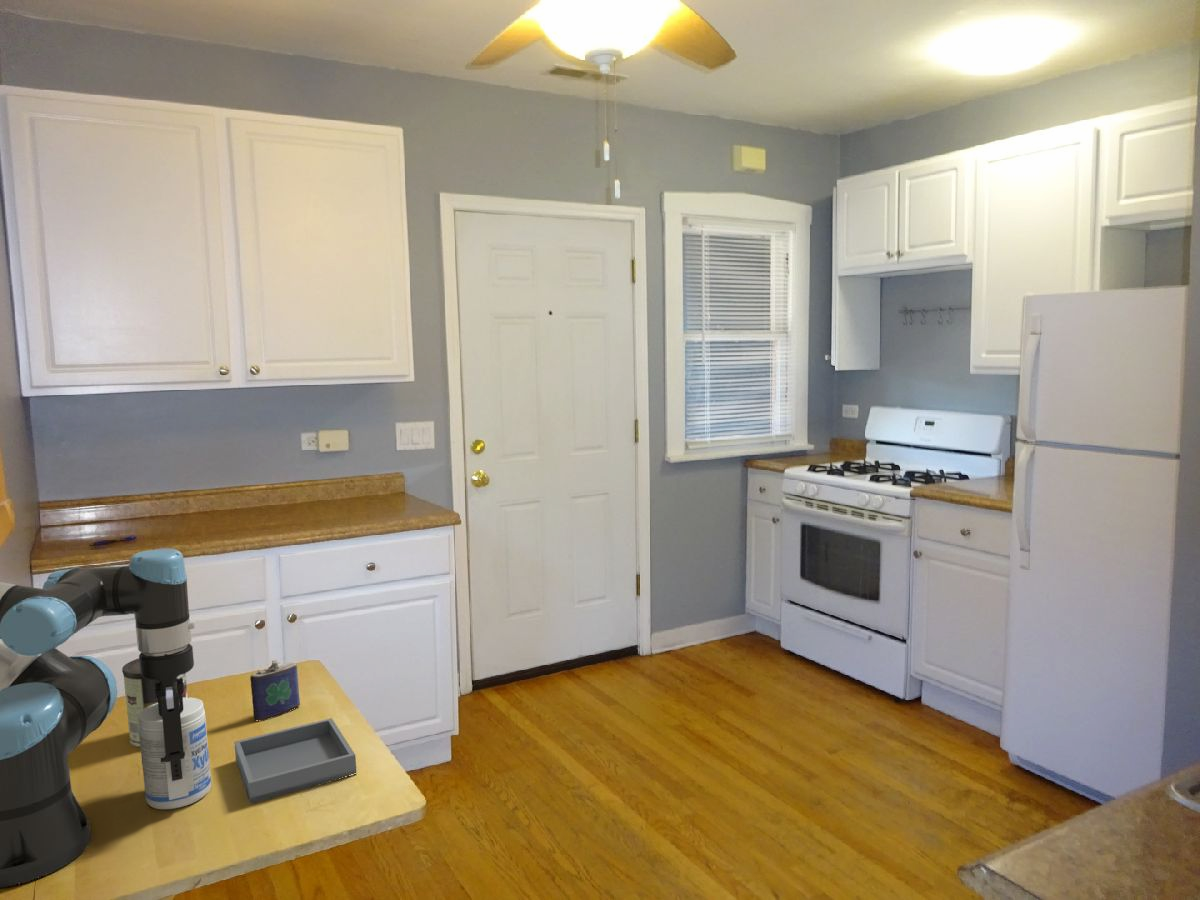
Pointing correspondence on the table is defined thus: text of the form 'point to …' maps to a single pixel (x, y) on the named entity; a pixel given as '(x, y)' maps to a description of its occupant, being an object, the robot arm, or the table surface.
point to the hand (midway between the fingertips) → (178, 781)
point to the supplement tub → (192, 746)
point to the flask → (275, 690)
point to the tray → (293, 759)
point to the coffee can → (140, 696)
